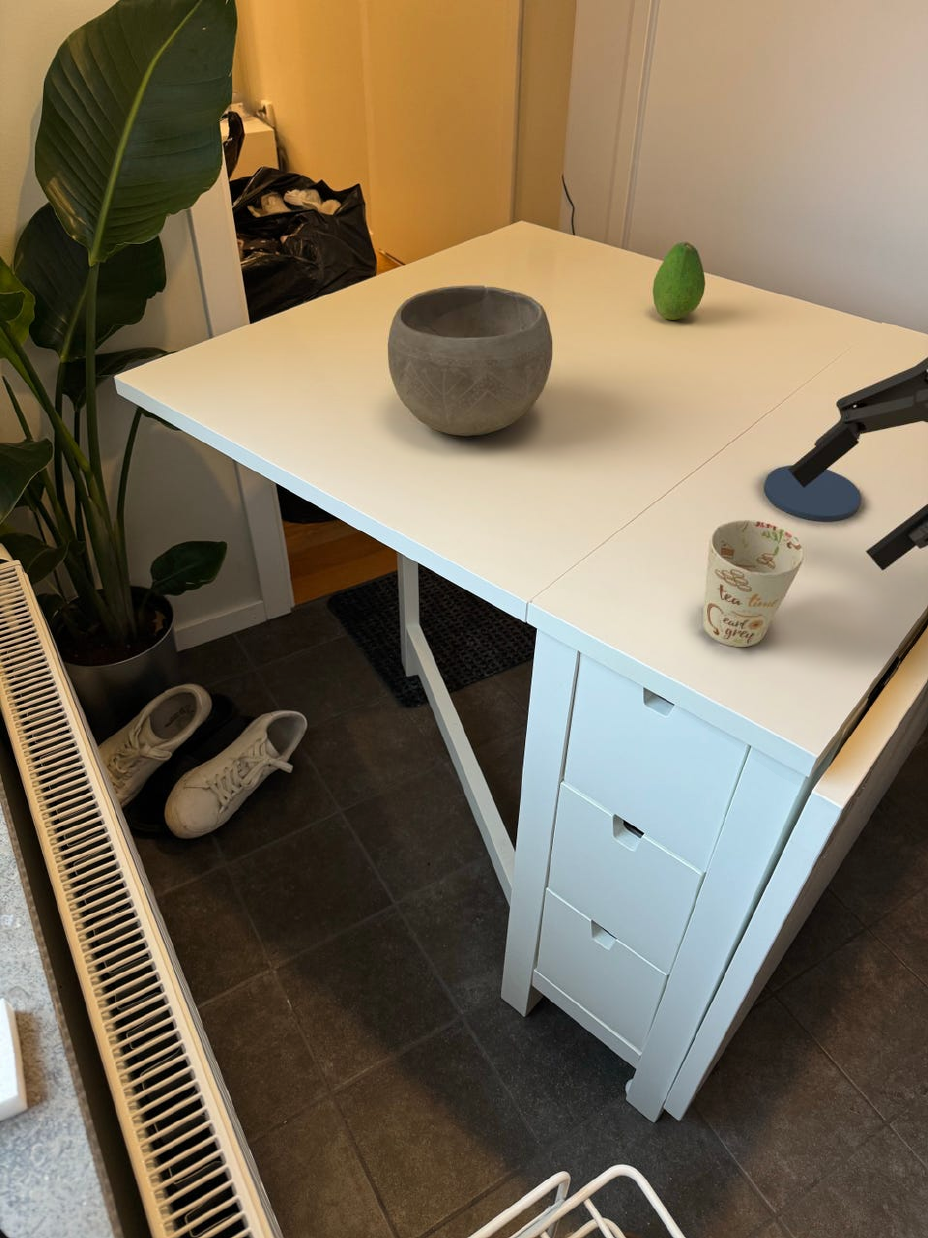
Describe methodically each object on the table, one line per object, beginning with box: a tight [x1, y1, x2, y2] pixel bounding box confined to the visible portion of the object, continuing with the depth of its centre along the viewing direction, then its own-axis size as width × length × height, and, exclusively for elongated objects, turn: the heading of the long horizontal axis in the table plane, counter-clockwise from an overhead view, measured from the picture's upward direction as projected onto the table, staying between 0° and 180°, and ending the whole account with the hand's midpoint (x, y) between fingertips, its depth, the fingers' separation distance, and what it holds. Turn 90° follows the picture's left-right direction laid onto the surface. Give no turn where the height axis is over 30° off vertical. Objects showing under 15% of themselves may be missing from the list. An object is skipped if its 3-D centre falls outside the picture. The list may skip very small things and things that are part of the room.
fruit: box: [652, 241, 706, 321], centre depth 141 cm, size 8×8×12 cm
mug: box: [702, 519, 804, 648], centre depth 86 cm, size 8×13×10 cm, turn 133°
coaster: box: [763, 464, 862, 522], centre depth 106 cm, size 11×11×1 cm
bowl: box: [387, 285, 553, 437], centre depth 114 cm, size 21×21×15 cm
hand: (832, 517), depth 83 cm, fingers open, 13 cm apart
